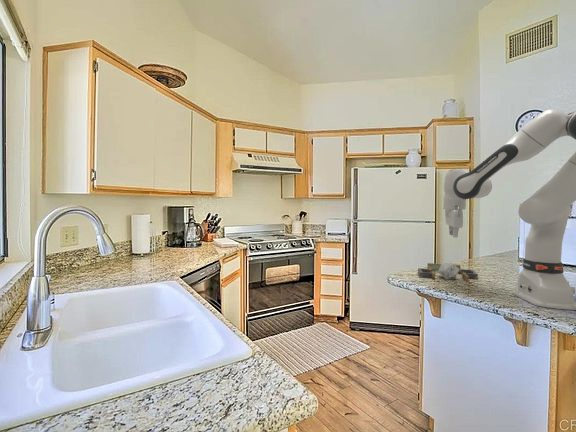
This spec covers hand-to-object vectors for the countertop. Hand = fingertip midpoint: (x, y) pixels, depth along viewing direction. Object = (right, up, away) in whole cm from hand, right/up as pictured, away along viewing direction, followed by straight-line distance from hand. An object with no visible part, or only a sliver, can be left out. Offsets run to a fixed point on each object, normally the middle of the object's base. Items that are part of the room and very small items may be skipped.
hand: (453, 236), depth 142 cm
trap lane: (+4, -21, +13) cm, 25 cm away
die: (+2, -21, +9) cm, 23 cm away
